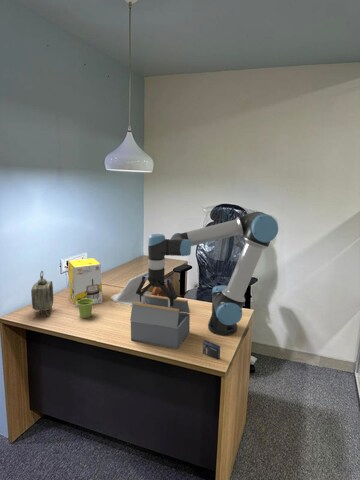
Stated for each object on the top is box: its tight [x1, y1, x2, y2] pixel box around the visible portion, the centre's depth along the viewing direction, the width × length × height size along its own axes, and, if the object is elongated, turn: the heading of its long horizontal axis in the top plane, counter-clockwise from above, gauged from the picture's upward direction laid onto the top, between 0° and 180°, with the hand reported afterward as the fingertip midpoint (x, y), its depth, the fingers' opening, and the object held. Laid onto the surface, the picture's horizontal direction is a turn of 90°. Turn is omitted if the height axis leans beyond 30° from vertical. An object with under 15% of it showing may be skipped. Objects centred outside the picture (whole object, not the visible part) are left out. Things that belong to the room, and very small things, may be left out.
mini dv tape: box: [202, 340, 221, 360], centre depth 147 cm, size 8×2×6 cm, turn 51°
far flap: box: [145, 294, 191, 314], centre depth 169 cm, size 24×9×1 cm
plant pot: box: [77, 299, 94, 319], centre depth 187 cm, size 9×9×9 cm
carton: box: [130, 312, 191, 350], centre depth 164 cm, size 24×18×10 cm
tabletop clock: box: [30, 270, 54, 317], centre depth 189 cm, size 14×9×25 cm, turn 12°
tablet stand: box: [110, 271, 152, 307], centre depth 216 cm, size 18×25×17 cm
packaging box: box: [67, 257, 103, 308], centre depth 208 cm, size 16×16×25 cm
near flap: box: [129, 302, 179, 328], centre depth 155 cm, size 24×9×1 cm
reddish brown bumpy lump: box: [151, 283, 171, 297], centre depth 197 cm, size 15×8×15 cm, turn 141°
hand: (156, 310), depth 158 cm, fingers open, 13 cm apart
